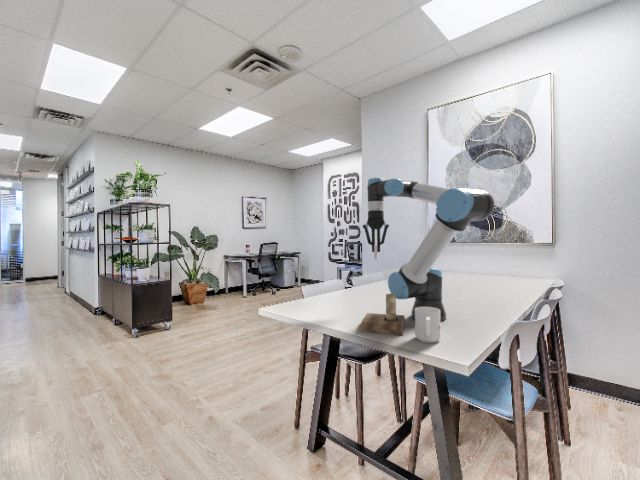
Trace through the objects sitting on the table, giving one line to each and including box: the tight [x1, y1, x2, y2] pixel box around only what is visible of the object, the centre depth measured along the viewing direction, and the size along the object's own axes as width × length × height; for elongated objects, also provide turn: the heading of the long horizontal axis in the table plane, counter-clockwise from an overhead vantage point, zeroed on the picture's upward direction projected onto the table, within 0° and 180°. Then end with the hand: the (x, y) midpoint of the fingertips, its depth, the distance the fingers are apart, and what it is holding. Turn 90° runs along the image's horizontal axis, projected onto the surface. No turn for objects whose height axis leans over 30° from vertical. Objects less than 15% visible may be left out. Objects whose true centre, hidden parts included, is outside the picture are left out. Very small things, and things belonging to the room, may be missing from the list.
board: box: [360, 312, 405, 336], centre depth 132 cm, size 16×14×4 cm
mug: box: [414, 307, 442, 344], centre depth 116 cm, size 12×9×11 cm
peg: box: [385, 293, 397, 321], centre depth 131 cm, size 4×4×14 cm
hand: (376, 258), depth 157 cm, fingers closed
